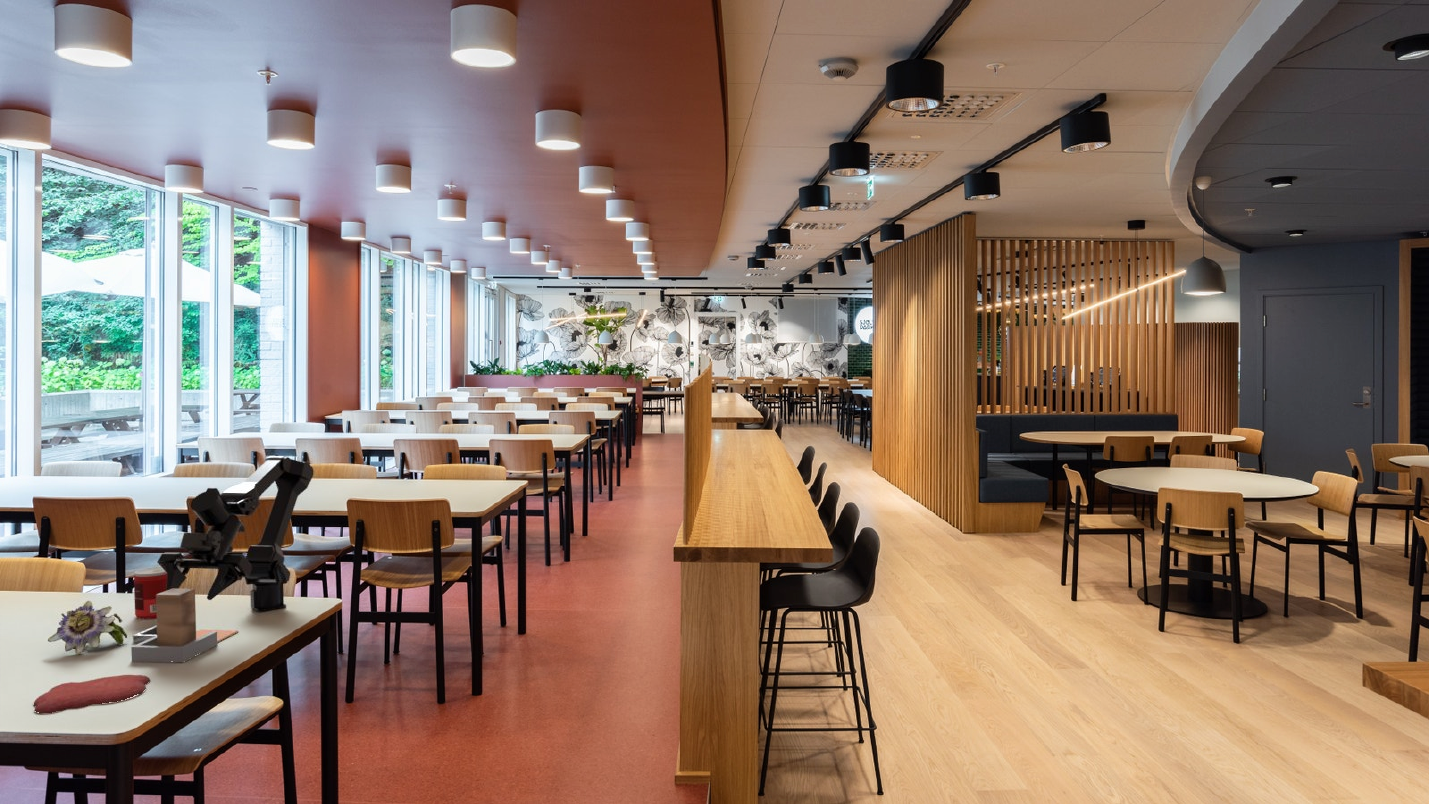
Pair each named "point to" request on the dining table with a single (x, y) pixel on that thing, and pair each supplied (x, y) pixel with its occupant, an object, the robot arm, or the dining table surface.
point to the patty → (90, 693)
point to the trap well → (145, 634)
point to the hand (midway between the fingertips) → (187, 598)
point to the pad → (220, 633)
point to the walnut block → (176, 617)
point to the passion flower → (87, 627)
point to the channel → (172, 650)
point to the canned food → (148, 590)
